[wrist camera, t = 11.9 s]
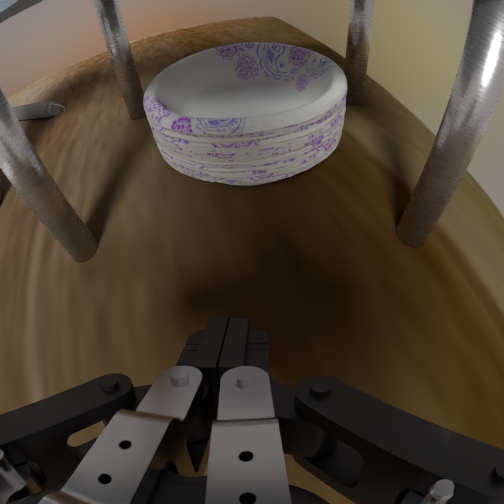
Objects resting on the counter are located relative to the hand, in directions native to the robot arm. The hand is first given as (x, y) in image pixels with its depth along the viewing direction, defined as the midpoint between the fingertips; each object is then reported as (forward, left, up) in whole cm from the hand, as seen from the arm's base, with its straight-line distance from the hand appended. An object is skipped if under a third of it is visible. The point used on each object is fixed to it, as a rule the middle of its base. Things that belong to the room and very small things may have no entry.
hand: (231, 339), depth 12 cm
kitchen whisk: (-57, +12, -6) cm, 58 cm away
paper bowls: (-9, +16, -6) cm, 19 cm away
